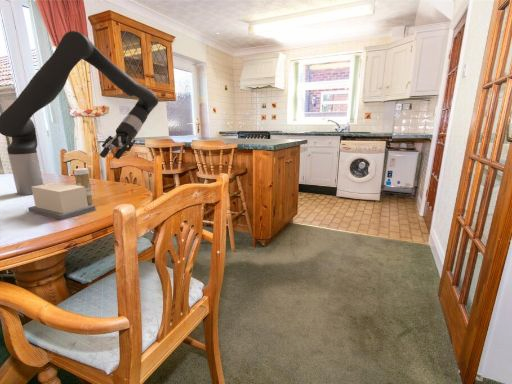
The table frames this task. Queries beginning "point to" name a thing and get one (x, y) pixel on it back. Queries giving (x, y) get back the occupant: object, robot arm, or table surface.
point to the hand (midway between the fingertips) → (108, 157)
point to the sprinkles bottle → (84, 182)
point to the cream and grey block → (60, 200)
